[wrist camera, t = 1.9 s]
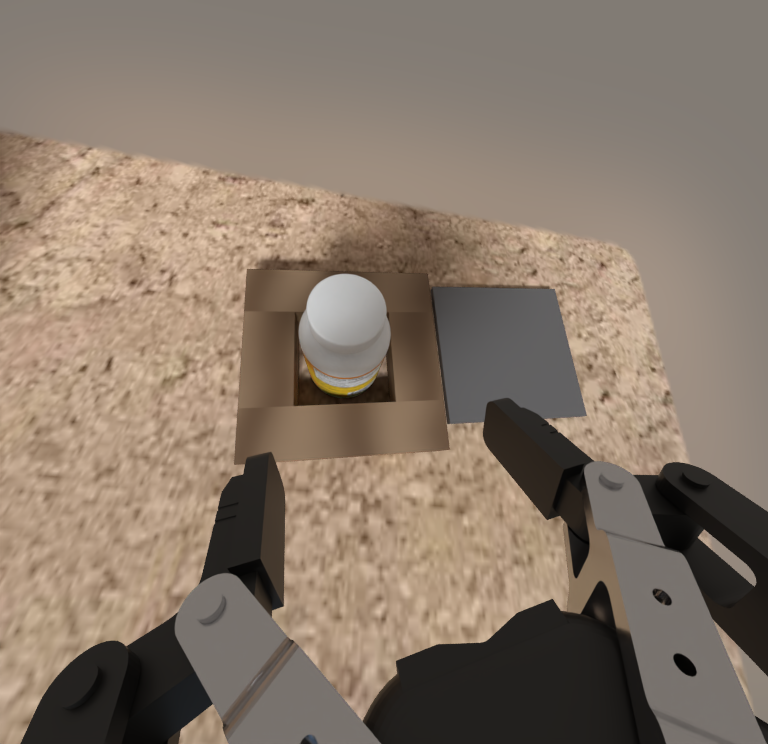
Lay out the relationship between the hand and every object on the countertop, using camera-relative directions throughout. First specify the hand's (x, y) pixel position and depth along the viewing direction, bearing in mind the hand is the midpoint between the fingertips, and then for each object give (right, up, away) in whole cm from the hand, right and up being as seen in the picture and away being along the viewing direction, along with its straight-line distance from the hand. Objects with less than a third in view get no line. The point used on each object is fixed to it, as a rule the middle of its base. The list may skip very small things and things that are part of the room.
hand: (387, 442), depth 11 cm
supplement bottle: (-3, +3, +13) cm, 14 cm away
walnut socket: (-3, +3, +13) cm, 14 cm away
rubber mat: (+10, +4, +15) cm, 19 cm away
